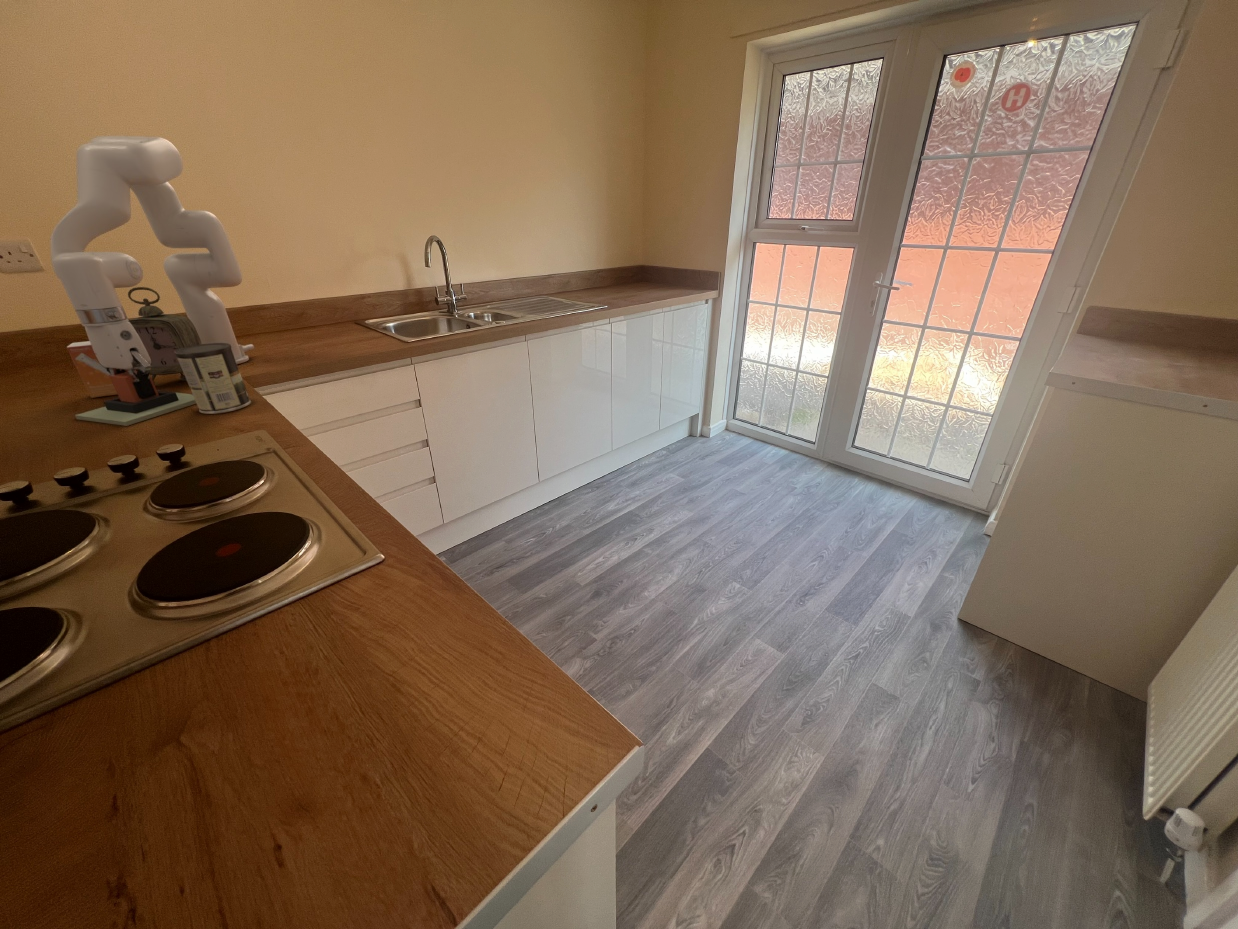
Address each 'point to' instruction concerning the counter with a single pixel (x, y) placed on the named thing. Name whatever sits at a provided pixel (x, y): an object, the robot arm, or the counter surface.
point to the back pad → (138, 409)
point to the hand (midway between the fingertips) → (139, 395)
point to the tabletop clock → (163, 336)
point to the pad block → (128, 387)
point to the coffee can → (213, 377)
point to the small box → (91, 370)
